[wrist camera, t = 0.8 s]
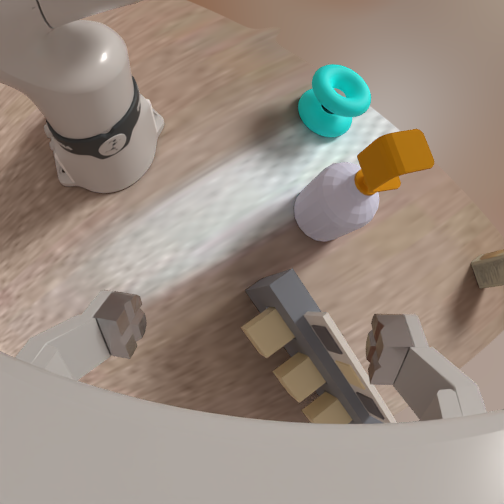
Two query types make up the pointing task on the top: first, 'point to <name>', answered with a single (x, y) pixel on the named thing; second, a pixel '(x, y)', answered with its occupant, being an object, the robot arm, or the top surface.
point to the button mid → (299, 376)
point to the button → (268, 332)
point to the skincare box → (489, 269)
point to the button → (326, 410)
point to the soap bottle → (359, 185)
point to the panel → (321, 346)
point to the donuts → (334, 100)
